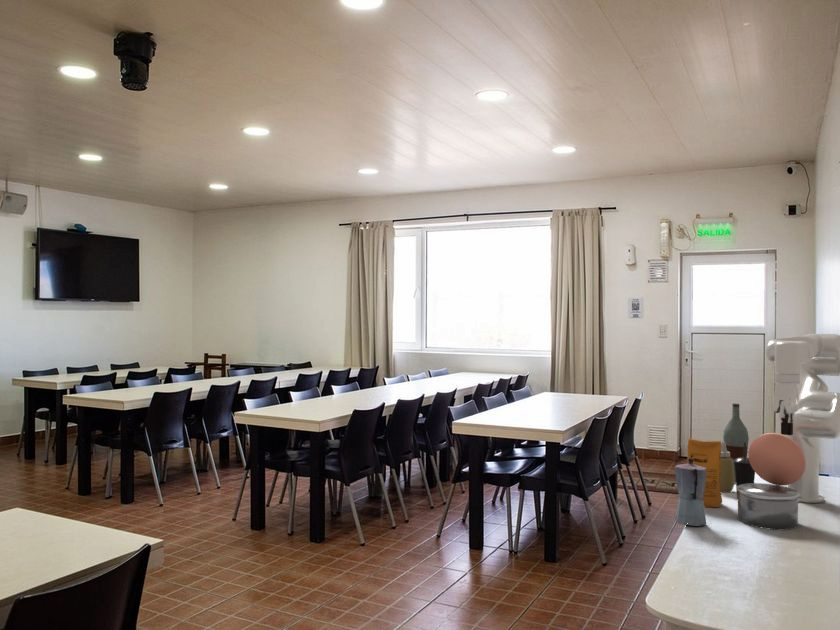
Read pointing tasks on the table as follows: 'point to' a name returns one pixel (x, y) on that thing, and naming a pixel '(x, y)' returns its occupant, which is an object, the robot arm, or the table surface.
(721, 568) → the table surface
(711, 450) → the coffee package
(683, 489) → the moka pot
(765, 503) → the cooker pot
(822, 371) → the robot arm
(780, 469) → the lid
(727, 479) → the squeeze bottle
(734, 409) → the green wine bottle
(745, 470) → the drinking cup
